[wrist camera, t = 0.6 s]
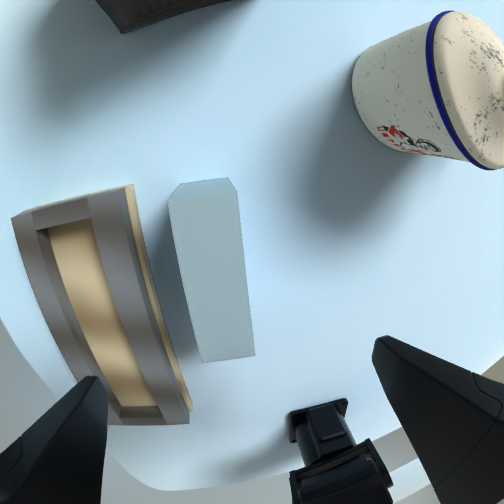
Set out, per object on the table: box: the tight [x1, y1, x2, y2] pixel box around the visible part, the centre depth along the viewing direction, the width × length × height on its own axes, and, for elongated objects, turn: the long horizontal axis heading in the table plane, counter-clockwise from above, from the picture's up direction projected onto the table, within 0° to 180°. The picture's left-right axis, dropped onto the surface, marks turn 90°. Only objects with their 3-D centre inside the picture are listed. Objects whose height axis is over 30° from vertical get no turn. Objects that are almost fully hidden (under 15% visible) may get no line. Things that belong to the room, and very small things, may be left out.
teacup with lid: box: [352, 11, 504, 170], centre depth 12 cm, size 12×9×12 cm
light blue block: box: [167, 177, 255, 363], centre depth 16 cm, size 9×3×6 cm, turn 5°
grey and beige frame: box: [11, 184, 192, 425], centre depth 19 cm, size 20×9×2 cm, turn 5°
